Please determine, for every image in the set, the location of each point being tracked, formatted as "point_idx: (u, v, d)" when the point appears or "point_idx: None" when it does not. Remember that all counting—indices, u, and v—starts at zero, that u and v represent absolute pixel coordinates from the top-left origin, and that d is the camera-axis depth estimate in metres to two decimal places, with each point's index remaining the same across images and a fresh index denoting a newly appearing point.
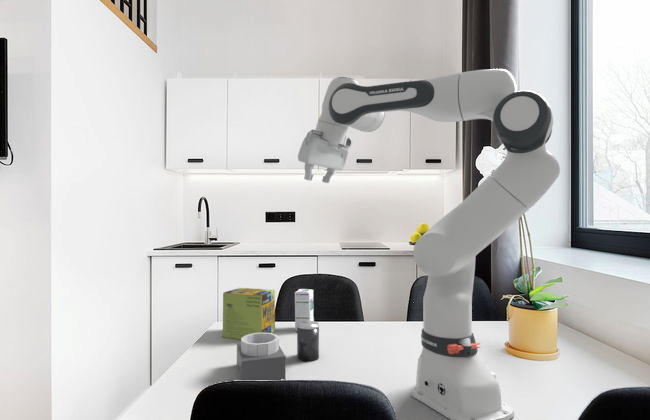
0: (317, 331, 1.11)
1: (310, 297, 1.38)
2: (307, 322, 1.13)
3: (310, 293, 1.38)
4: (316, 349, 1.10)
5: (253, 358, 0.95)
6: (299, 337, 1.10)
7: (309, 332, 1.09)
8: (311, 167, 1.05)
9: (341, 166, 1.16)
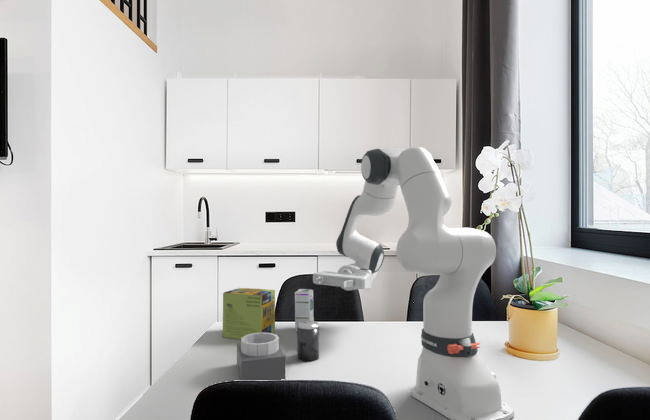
0: (317, 331, 1.11)
1: (310, 297, 1.38)
2: (307, 322, 1.13)
3: (310, 293, 1.38)
4: (316, 349, 1.10)
5: (253, 358, 0.95)
6: (299, 337, 1.10)
7: (309, 332, 1.09)
8: (319, 276, 1.29)
9: (360, 277, 1.23)
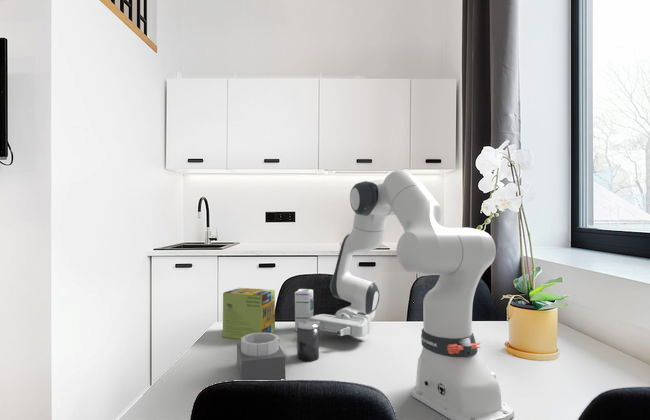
0: (317, 331, 1.11)
1: (310, 297, 1.38)
2: (307, 322, 1.13)
3: (310, 293, 1.38)
4: (316, 349, 1.10)
5: (253, 358, 0.95)
6: (299, 337, 1.10)
7: (309, 332, 1.09)
8: (316, 321, 1.27)
9: (357, 324, 1.21)
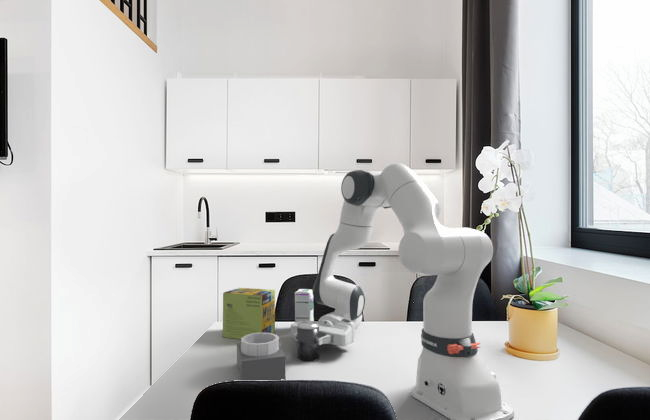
0: (317, 331, 1.11)
1: (310, 297, 1.38)
2: (307, 322, 1.13)
3: (310, 293, 1.38)
4: (316, 349, 1.10)
5: (253, 358, 0.95)
6: (299, 337, 1.10)
7: (309, 332, 1.09)
8: None
9: (340, 332, 1.12)
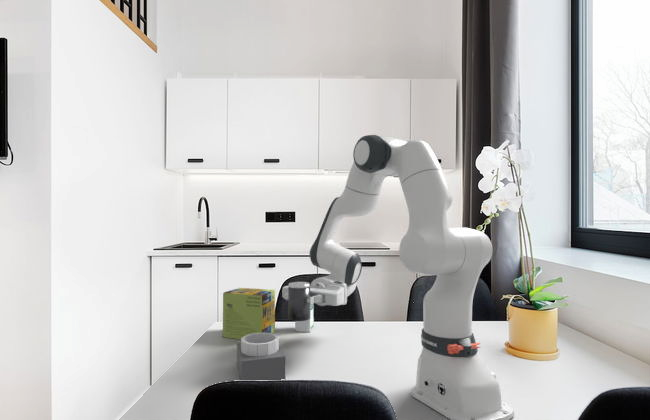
0: (308, 290, 1.09)
1: None
2: (299, 282, 1.11)
3: None
4: (307, 309, 1.08)
5: (253, 358, 0.95)
6: (290, 296, 1.08)
7: (300, 291, 1.07)
8: None
9: (332, 292, 1.10)
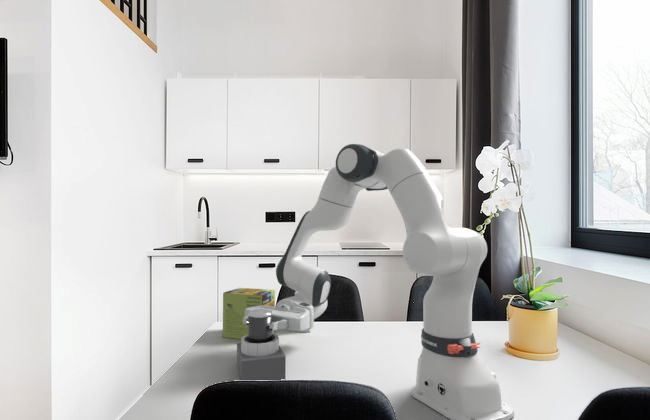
0: (270, 320, 1.00)
1: None
2: (260, 310, 1.03)
3: None
4: (268, 340, 1.00)
5: (253, 358, 0.95)
6: (249, 326, 1.00)
7: (260, 321, 0.99)
8: None
9: (295, 316, 1.02)
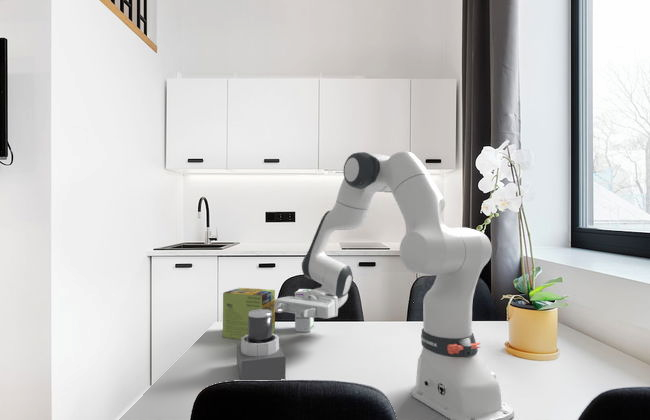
0: (270, 320, 1.00)
1: None
2: (260, 310, 1.03)
3: None
4: (268, 340, 1.00)
5: (253, 358, 0.95)
6: (249, 326, 1.00)
7: (260, 321, 0.99)
8: (281, 303, 1.19)
9: (323, 305, 1.13)
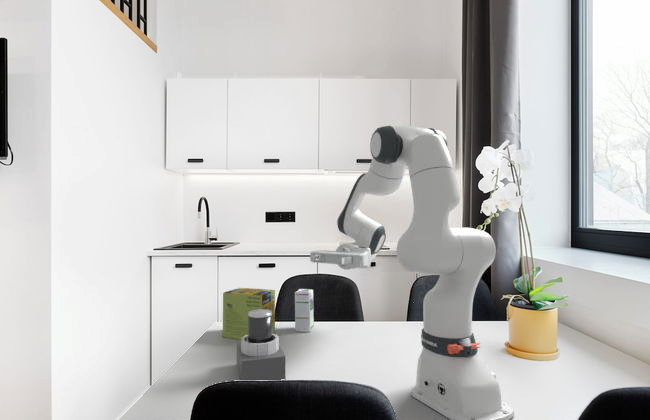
0: (270, 320, 1.00)
1: (310, 297, 1.38)
2: (260, 310, 1.03)
3: (310, 293, 1.38)
4: (268, 340, 1.00)
5: (253, 358, 0.95)
6: (249, 326, 1.00)
7: (260, 321, 0.99)
8: (317, 254, 1.25)
9: (358, 254, 1.19)
